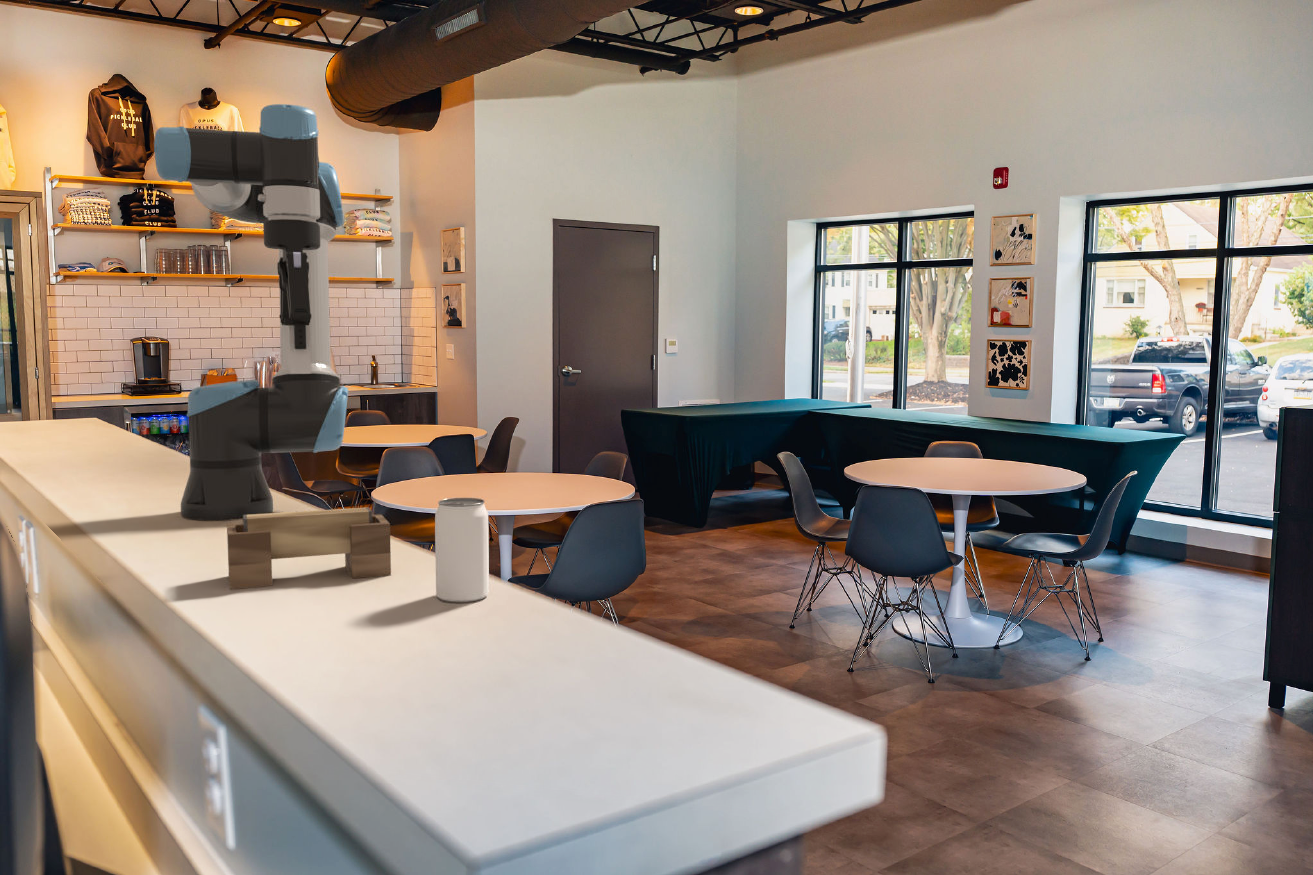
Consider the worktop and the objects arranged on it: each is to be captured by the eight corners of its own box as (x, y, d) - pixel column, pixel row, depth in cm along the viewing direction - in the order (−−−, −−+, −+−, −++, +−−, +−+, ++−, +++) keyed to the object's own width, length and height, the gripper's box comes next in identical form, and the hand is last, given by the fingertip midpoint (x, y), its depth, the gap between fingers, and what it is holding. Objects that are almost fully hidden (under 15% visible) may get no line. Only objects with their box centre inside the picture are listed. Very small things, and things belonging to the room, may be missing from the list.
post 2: (391, 574, 138) (389, 523, 137) (352, 578, 136) (351, 526, 135) (382, 563, 144) (381, 514, 144) (345, 566, 142) (344, 516, 142)
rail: (244, 556, 135) (243, 515, 134) (369, 546, 141) (368, 507, 141) (245, 561, 132) (244, 519, 131) (372, 551, 138) (371, 511, 138)
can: (477, 605, 123) (476, 506, 122) (427, 601, 125) (425, 504, 123) (496, 591, 130) (495, 498, 128) (448, 588, 131) (447, 496, 130)
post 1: (228, 576, 136) (226, 524, 136) (268, 572, 138) (267, 521, 138) (230, 589, 130) (228, 534, 129) (272, 585, 132) (270, 531, 131)
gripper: (258, 226, 153) (263, 368, 156) (268, 210, 131) (273, 375, 133) (311, 229, 156) (314, 367, 159) (329, 213, 134) (333, 375, 136)
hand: (296, 371), depth 146 cm, fingers open, 13 cm apart
